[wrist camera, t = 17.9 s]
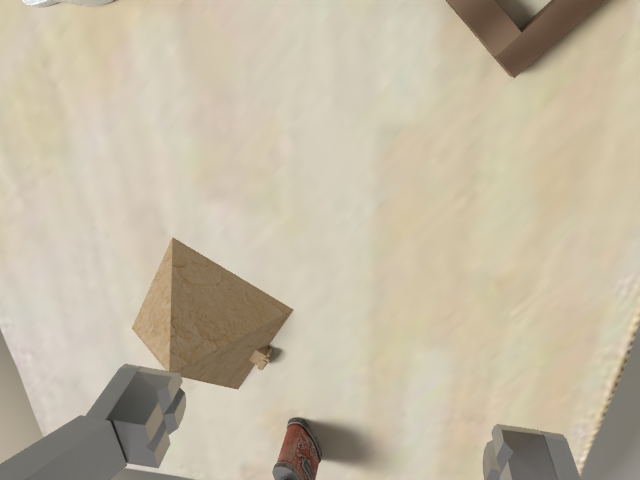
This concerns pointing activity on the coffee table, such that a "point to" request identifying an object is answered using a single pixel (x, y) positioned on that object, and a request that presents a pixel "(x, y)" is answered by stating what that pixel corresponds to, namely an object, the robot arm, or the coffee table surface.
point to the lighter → (298, 453)
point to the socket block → (531, 40)
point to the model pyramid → (207, 319)
